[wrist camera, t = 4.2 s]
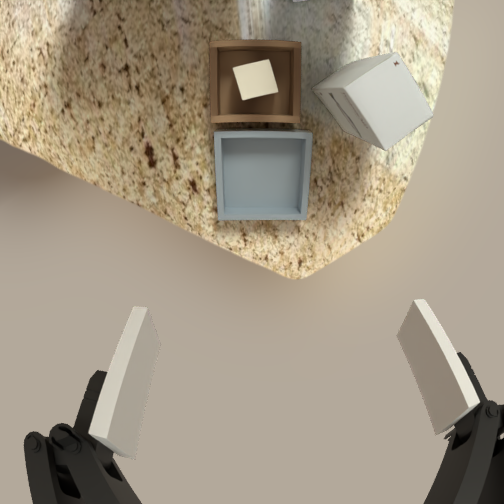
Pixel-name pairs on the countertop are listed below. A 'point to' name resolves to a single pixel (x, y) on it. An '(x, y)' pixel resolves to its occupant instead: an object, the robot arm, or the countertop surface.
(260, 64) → the cream cube
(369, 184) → the countertop surface
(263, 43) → the walnut box
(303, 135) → the grey tray
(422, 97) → the supplement box
